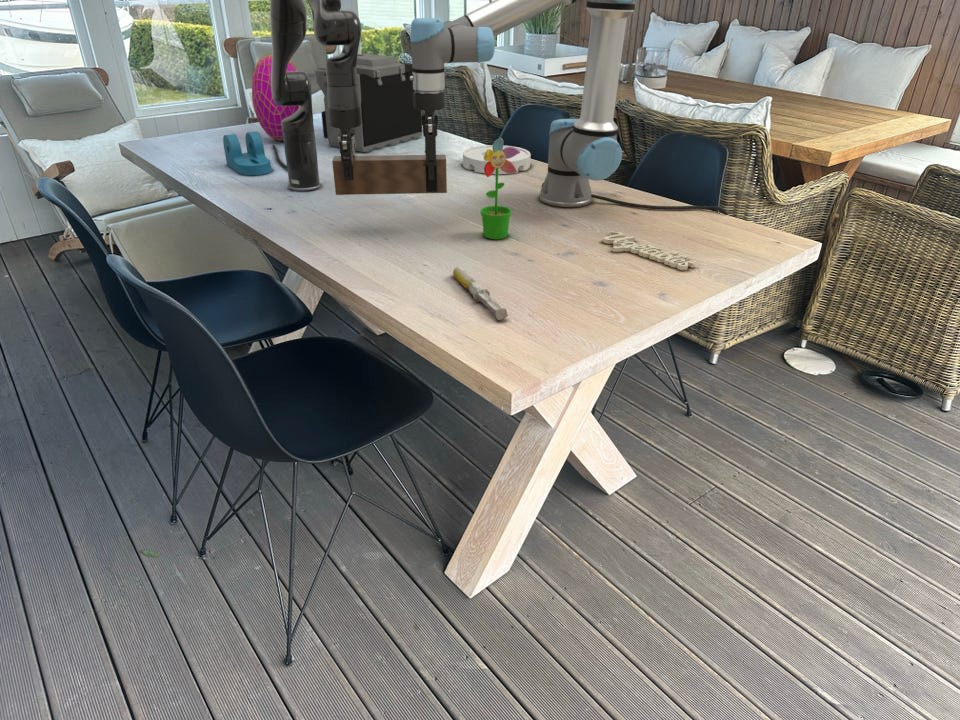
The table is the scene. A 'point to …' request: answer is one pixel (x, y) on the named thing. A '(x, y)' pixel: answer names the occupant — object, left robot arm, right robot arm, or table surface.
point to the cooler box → (379, 103)
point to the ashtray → (476, 162)
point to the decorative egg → (269, 99)
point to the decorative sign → (647, 251)
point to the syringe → (479, 293)
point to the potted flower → (497, 215)
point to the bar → (388, 175)
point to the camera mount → (246, 154)
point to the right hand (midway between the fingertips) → (431, 188)
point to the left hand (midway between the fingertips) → (350, 176)
